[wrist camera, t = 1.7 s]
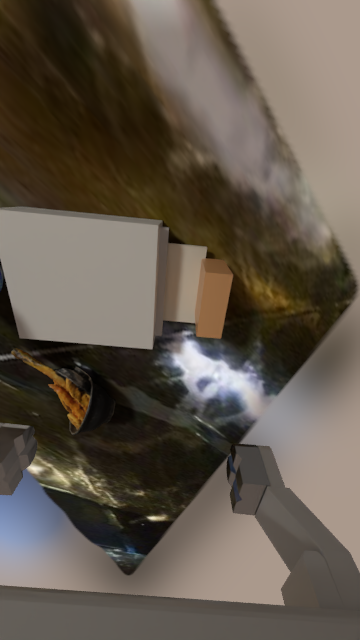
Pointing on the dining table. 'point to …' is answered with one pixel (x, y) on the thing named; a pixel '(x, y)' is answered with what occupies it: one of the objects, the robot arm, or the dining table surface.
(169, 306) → the tan-tipped white bar
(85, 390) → the fried shrimp in bowl
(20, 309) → the block
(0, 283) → the beer can
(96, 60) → the dining table surface
